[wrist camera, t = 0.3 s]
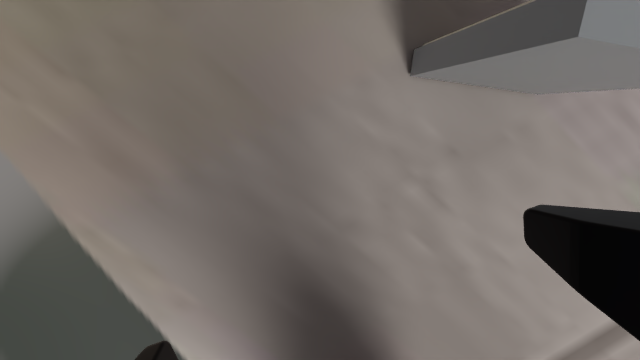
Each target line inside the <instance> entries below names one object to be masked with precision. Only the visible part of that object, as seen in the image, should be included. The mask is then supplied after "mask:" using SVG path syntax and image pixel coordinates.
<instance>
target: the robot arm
mask: <svg viewBox="0 0 640 360" xmlns="http://www.w3.org/2000/svg"><path fill="white" fill-rule="evenodd" d="M523 219H524V238H525V241H526V243H527V245H528V246H529V248H530V249H531V250H533V251H534V252H535V253H536V254H537V255H538V256H539V257H540V258H541V259H542V260H543V261H544V262H545V263H547V264H548V265H549V266H550V267H551V268H552V269H553V270H554V271H555V272H556V273H557V274H558V275H559V276H561V277H562V278H563V279H564V280H565V281H566V282H567V283H568V284H569V285H570V286H571V287H573V288H574V289H575V290H576V291H577V292H578V293H579V294H581V295H582V296H583V297H584V298H585V299H587V300H588V301H589V302H590V303H592V304H593V305H594V306H596V307H597V308H598V309H599V310H601V311H602V312H603V313H604V314H606V315H607V316H608V317H610V318H611V319H612V320H613V321H615V322H616V323H617V324H618V325H620V326H621V327H622V328H624V329H625V330H626V331H627V332H629V333H630V334H631V335H632V336H634V337H635V338H636V339H638V340H639V341H640V212H628V211H616V210H603V209H590V208H578V207H565V206H552V205H538V206H535V207H532V208H529V209H527V210H526V211H525V212H524V215H523ZM135 360H178V358H177V356H176V354H175V352H174V350H173V349H172V347H171V345H170V343H169V342H168V341H161V342H158V343H156V344H153V345H150V346H148V347H146V348H145V349H144V350H143V351H142V352H141V353H140V354H139V355H138V356H137V358H136V359H135Z"/></svg>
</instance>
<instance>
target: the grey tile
mask: <svg viewBox="0 0 640 360" xmlns="http://www.w3.org/2000/svg"><path fill="white" fill-rule="evenodd" d="M410 76H413V77H420V78H427V79H434V80H441V81H448V82H455V83H461V84H468V85H475V86H482V87H489V88H496V89H503V90H510V91H516V92H523V93H530V94H537V95H538V94H555V93H572V92H589V91H607V90H624V89H640V0H530V1H528V2H525V3H523V4H520V5H518V6H516V7H513V8H511V9H508V10H506V11H503V12H501V13H499V14H496V15H494V16H491V17H489V18H486V19H484V20H481V21H479V22H477V23H474V24H472V25H469V26H467V27H464V28H462V29H460V30H457V31H455V32H452V33H450V34H447V35H445V36H443V37H440V38H438V39H435V40H433V41H430V42H428V43H425V44H424V45H423V46H421V47H419V48H416V49H414V55H413V61H412V67H411V74H410Z"/></svg>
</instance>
